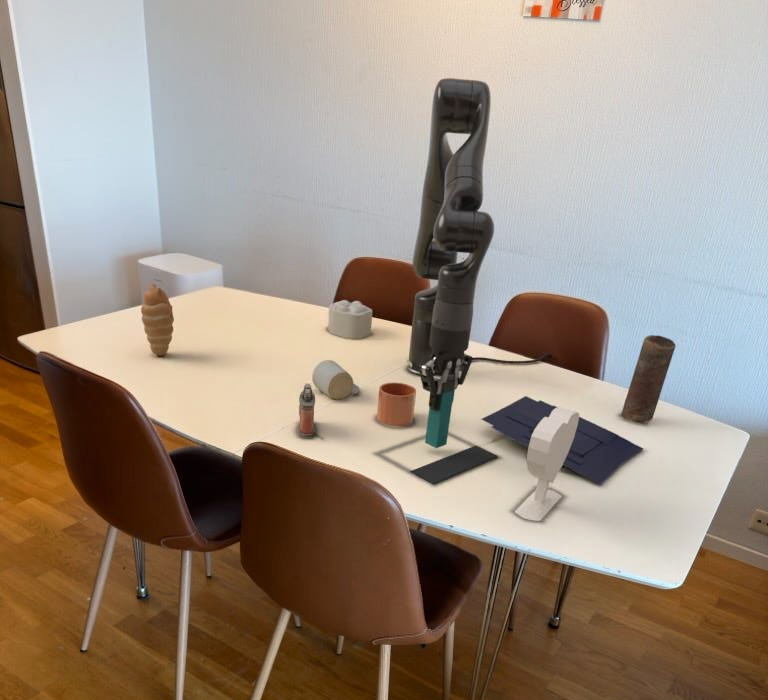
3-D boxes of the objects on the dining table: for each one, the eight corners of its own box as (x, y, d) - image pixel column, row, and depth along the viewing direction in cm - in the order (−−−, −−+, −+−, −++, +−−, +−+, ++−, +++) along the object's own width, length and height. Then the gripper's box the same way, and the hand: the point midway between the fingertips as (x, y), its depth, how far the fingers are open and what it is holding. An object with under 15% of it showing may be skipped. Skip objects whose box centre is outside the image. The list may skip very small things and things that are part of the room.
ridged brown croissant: (181, 359, 185) (176, 288, 175) (151, 362, 181) (144, 290, 171) (169, 348, 191) (164, 279, 181) (139, 351, 187) (133, 281, 177)
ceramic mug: (328, 403, 167) (330, 372, 163) (310, 391, 173) (312, 361, 169) (365, 397, 173) (368, 367, 169) (347, 385, 178) (349, 356, 174)
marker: (435, 439, 150) (443, 375, 143) (446, 444, 148) (455, 380, 141) (424, 442, 148) (432, 378, 141) (436, 448, 146) (444, 383, 139)
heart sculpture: (541, 484, 141) (560, 399, 132) (565, 492, 139) (586, 407, 130) (510, 516, 130) (528, 425, 120) (535, 525, 128) (556, 434, 118)
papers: (526, 404, 174) (530, 390, 172) (639, 458, 161) (645, 444, 159) (473, 432, 157) (477, 417, 155) (595, 495, 144) (601, 481, 142)
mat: (441, 430, 160) (442, 429, 159) (497, 457, 150) (498, 455, 150) (377, 453, 147) (377, 451, 147) (433, 484, 138) (433, 482, 137)
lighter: (298, 422, 157) (299, 379, 152) (314, 422, 158) (315, 379, 152) (298, 438, 150) (299, 393, 145) (314, 438, 151) (315, 394, 146)
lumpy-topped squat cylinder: (354, 340, 209) (356, 311, 205) (320, 330, 215) (321, 301, 210) (374, 333, 217) (377, 304, 212) (340, 323, 222) (342, 295, 218)
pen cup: (394, 410, 167) (397, 380, 163) (420, 422, 162) (423, 391, 159) (369, 418, 162) (371, 387, 158) (394, 430, 157) (397, 399, 153)
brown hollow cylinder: (652, 417, 177) (676, 338, 166) (652, 428, 171) (676, 347, 160) (621, 410, 179) (642, 332, 168) (619, 421, 173) (642, 340, 162)
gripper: (441, 334, 128) (430, 422, 137) (490, 323, 137) (477, 406, 146) (411, 323, 133) (402, 409, 142) (460, 313, 142) (449, 394, 150)
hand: (440, 407), depth 144 cm, fingers closed on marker, 3 cm apart
